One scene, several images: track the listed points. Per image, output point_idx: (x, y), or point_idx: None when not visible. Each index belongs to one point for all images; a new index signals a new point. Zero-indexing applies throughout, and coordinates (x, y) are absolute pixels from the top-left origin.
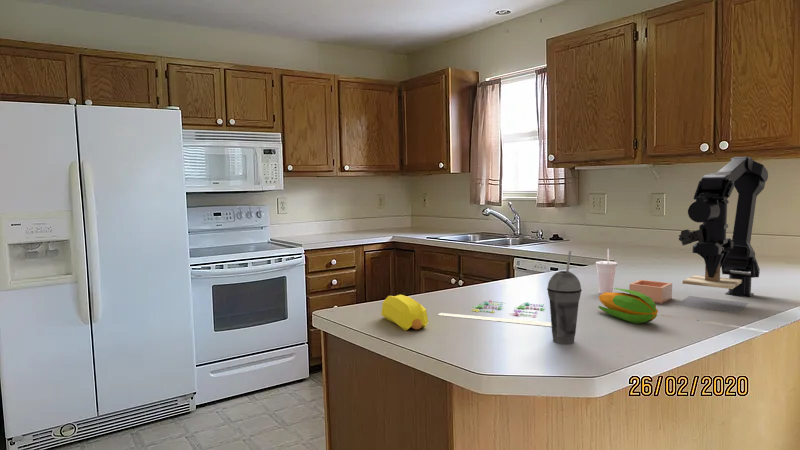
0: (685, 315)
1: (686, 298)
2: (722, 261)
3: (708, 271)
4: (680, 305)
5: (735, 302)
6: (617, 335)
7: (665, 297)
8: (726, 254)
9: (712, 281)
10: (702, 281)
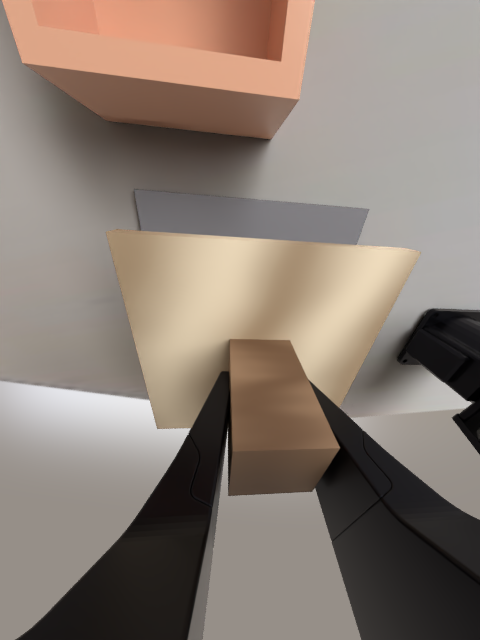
0: (22, 264)
1: (302, 208)
2: (321, 503)
3: (209, 400)
4: (139, 217)
5: None
6: None
7: (153, 114)
8: (351, 603)
9: (217, 368)
10: (183, 336)
